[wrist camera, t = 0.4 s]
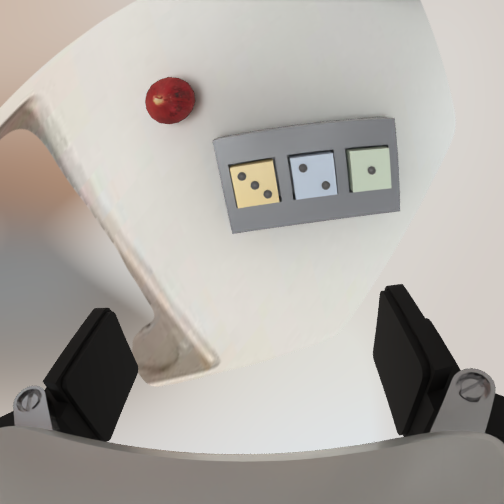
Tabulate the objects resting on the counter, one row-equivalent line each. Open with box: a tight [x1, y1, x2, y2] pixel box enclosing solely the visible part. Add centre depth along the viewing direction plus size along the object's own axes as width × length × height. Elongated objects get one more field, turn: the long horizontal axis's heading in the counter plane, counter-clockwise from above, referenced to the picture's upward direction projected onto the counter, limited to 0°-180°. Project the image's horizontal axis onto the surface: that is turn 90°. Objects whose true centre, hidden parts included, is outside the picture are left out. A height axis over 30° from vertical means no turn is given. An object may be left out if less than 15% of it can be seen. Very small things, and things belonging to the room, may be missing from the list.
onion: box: [145, 77, 195, 124], centre depth 33 cm, size 6×6×8 cm
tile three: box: [230, 158, 279, 208], centre depth 37 cm, size 5×5×2 cm
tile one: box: [346, 146, 391, 192], centre depth 36 cm, size 5×5×2 cm
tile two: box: [289, 151, 337, 200], centre depth 36 cm, size 5×5×2 cm
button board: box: [213, 117, 400, 234], centre depth 38 cm, size 12×22×4 cm, turn 100°
